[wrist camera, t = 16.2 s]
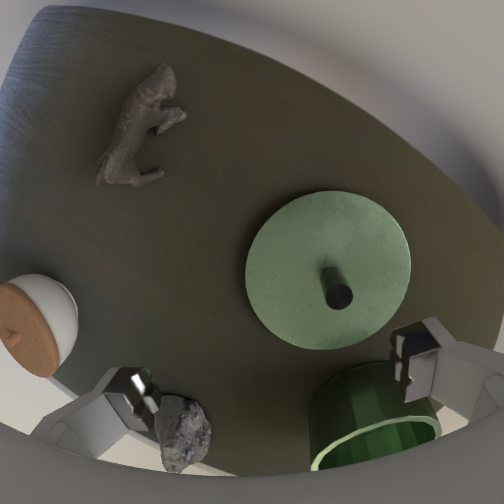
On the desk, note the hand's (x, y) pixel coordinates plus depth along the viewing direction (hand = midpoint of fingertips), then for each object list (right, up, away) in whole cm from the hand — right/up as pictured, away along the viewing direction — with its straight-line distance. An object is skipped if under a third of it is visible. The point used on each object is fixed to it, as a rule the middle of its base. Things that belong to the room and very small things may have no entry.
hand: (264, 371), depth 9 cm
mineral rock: (-10, -22, +28) cm, 37 cm away
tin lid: (+7, +1, +19) cm, 20 cm away
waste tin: (+15, -17, +24) cm, 33 cm away
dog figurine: (-9, +16, +17) cm, 25 cm away
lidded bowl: (-27, -3, +25) cm, 37 cm away
